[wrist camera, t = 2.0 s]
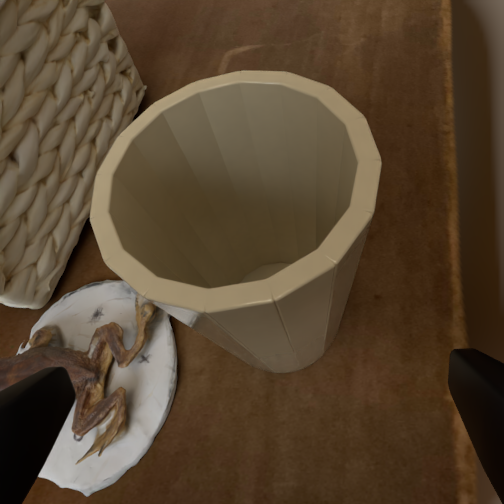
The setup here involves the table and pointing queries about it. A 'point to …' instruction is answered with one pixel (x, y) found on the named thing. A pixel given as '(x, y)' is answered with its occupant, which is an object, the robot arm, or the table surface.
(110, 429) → the frog figurine
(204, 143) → the cup
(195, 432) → the table surface
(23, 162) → the basket
